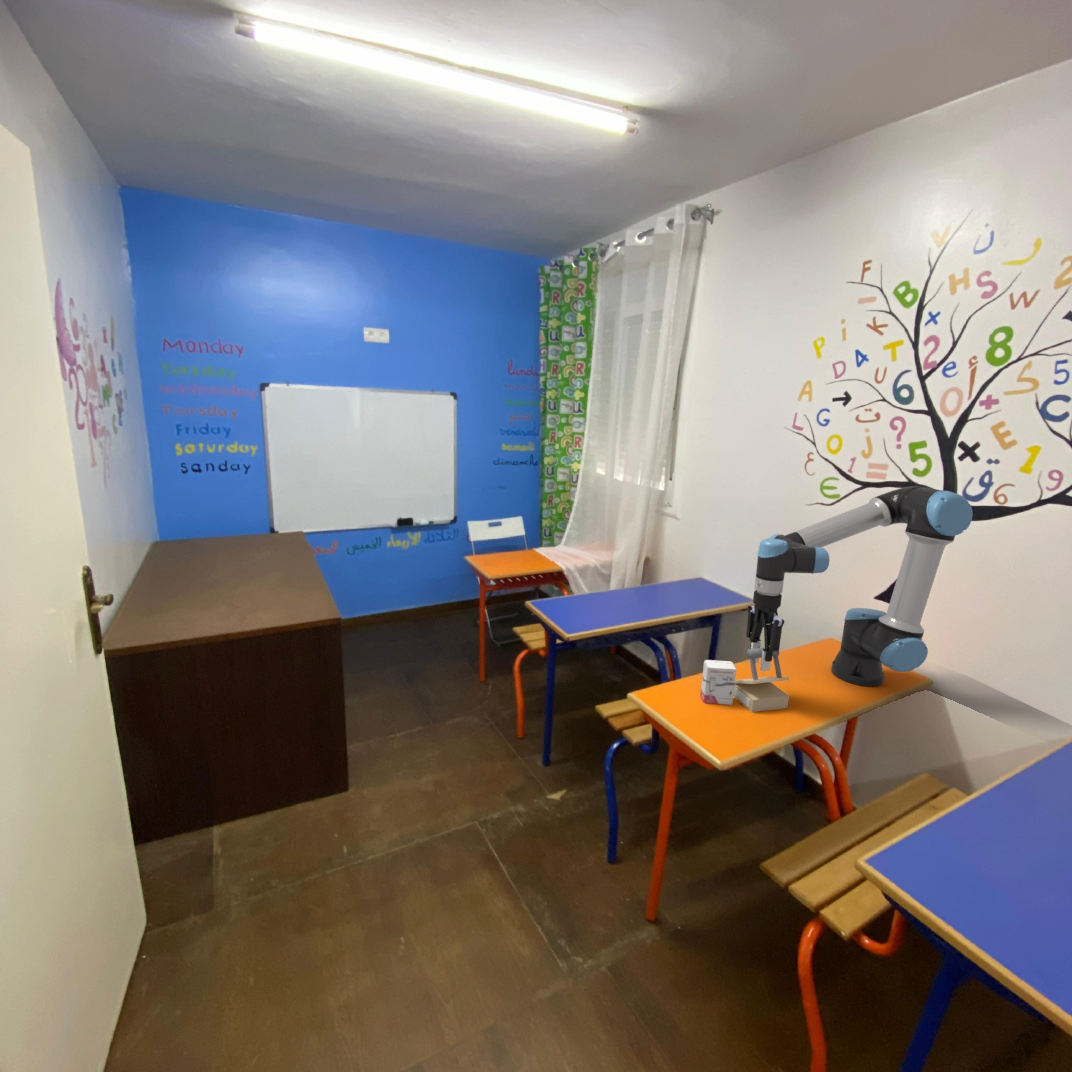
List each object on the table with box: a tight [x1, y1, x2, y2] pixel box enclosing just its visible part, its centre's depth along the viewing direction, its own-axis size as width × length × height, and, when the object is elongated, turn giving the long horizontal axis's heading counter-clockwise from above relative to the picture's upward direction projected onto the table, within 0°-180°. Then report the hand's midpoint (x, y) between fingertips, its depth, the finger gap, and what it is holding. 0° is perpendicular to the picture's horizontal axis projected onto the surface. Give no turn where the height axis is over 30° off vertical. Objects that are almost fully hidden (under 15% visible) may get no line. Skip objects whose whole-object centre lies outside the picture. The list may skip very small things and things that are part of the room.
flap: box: [735, 647, 790, 684], centre depth 161 cm, size 12×10×10 cm
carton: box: [733, 682, 790, 713], centre depth 160 cm, size 12×10×4 cm
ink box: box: [700, 659, 737, 706], centre depth 160 cm, size 9×5×12 cm, turn 85°
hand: (759, 666), depth 160 cm, fingers open, 4 cm apart
